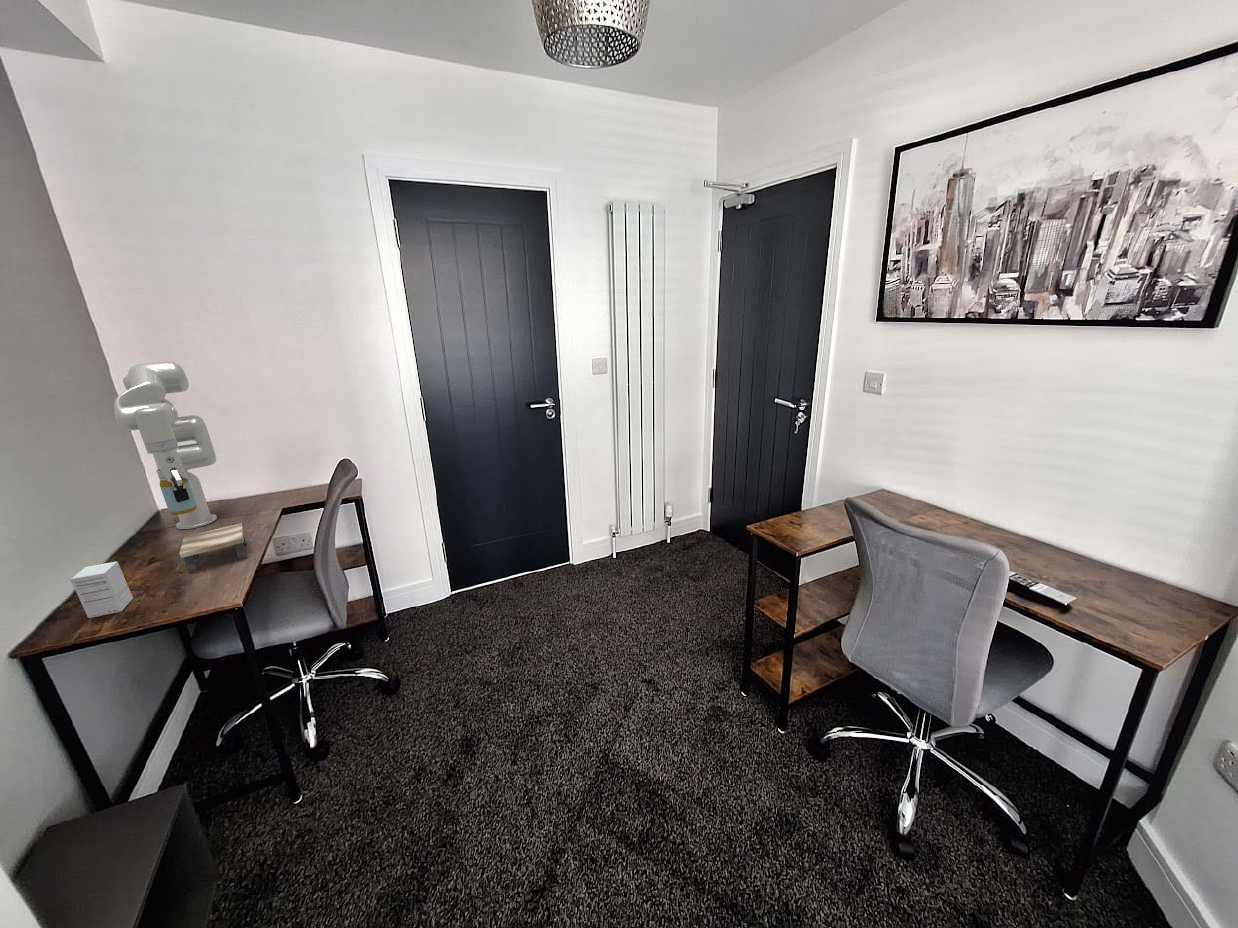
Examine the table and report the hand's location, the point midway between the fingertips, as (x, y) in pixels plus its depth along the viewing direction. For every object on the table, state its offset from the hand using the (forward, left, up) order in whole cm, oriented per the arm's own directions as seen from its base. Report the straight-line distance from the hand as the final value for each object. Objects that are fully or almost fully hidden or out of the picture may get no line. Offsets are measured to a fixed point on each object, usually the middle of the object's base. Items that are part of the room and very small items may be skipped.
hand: (180, 498), depth 159 cm
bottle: (0, 0, -5) cm, 5 cm away
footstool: (+4, +5, -22) cm, 23 cm away
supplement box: (+22, -19, -22) cm, 37 cm away
